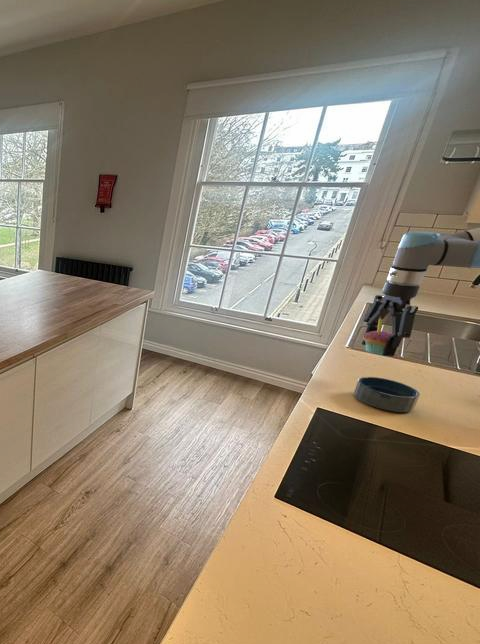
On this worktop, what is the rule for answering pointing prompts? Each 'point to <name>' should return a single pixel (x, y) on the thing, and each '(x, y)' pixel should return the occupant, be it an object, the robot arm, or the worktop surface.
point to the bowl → (386, 394)
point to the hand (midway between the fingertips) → (377, 349)
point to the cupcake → (376, 340)
